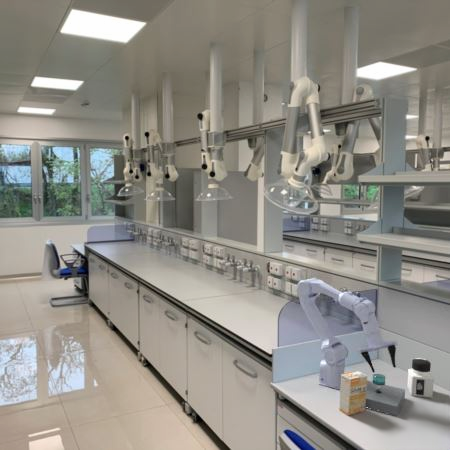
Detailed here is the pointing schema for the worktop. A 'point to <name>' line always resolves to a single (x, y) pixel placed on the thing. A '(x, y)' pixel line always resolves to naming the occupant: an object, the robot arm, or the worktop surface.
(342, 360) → the robot arm
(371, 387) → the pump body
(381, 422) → the worktop surface
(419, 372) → the container
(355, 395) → the supplement box
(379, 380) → the plunger
